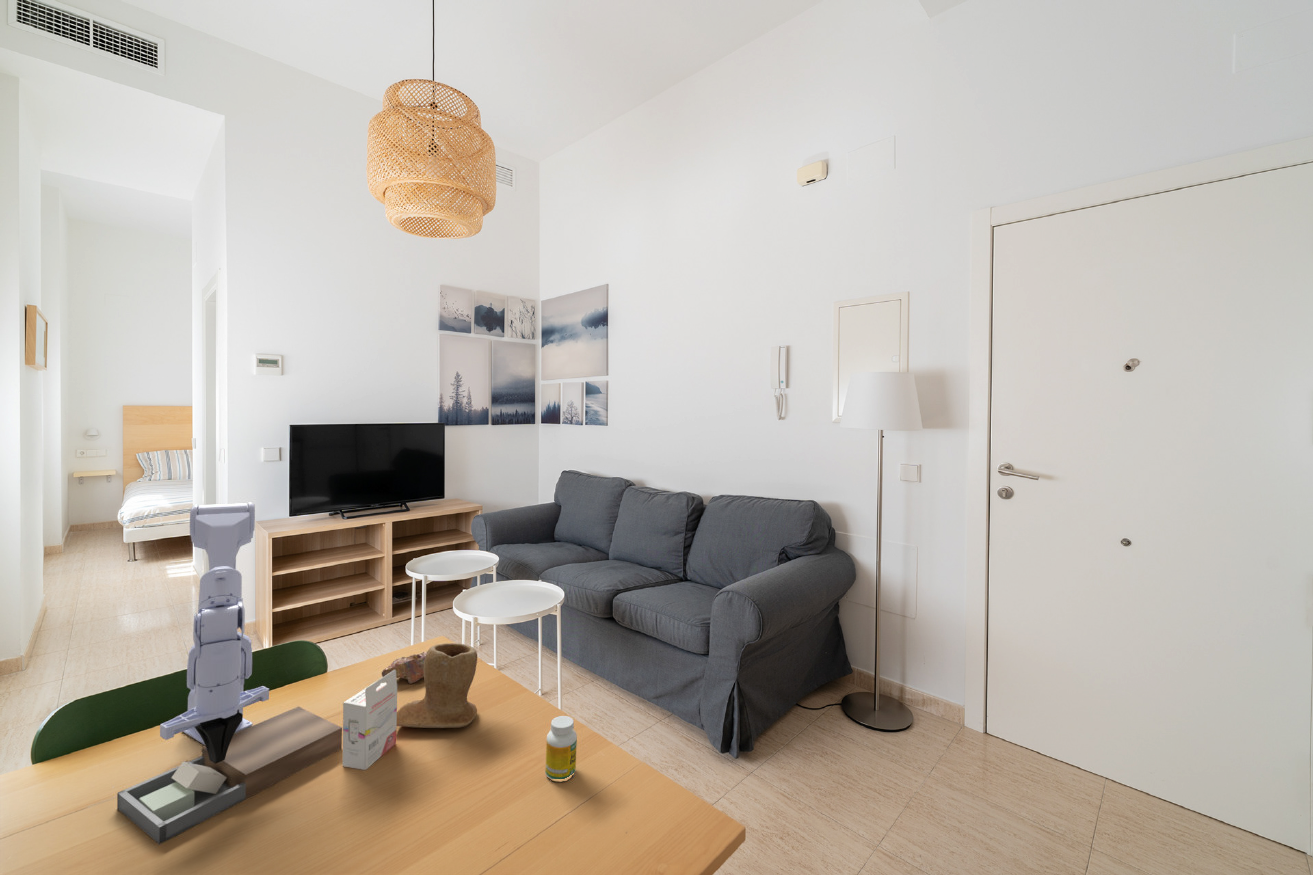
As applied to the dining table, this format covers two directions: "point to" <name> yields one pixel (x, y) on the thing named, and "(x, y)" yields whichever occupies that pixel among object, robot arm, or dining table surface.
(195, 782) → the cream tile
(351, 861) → the dining table surface
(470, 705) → the brown hollow boot figurine
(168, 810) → the sage tile
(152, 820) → the tray
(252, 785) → the walnut board
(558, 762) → the supplement bottle
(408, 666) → the mineral specimen
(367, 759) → the ink cartridge box
